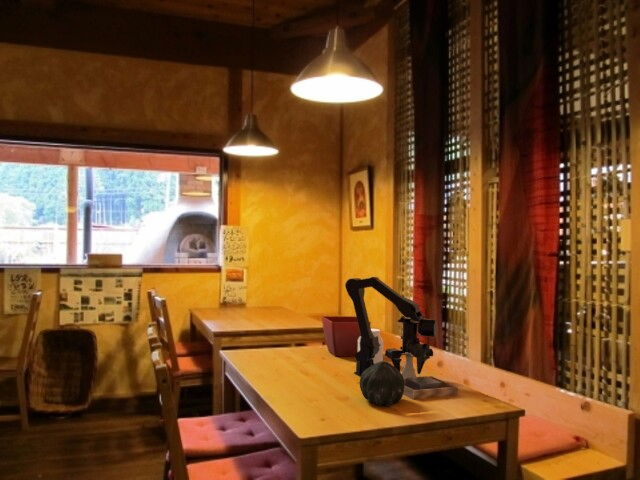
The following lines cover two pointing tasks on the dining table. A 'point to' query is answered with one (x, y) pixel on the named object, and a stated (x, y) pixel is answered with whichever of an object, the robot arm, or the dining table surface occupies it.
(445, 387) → the brown tray
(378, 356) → the jar
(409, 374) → the flask
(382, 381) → the squash
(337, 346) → the plant pot
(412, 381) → the block
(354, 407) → the dining table surface
